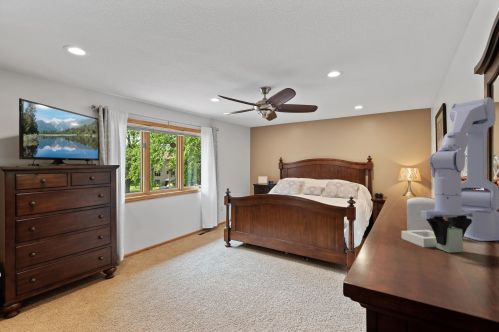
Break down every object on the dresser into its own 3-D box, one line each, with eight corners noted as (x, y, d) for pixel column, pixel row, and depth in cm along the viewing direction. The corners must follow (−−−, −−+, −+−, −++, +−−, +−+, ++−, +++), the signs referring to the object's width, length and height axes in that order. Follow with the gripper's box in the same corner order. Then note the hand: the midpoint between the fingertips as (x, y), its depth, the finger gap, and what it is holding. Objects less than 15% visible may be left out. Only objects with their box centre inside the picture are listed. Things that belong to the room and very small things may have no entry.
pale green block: (449, 247, 69) (448, 223, 69) (462, 251, 65) (462, 226, 65) (436, 247, 69) (435, 223, 69) (449, 252, 65) (448, 226, 65)
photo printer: (405, 231, 88) (404, 196, 88) (409, 229, 91) (408, 196, 91) (440, 236, 80) (439, 199, 80) (444, 234, 83) (443, 198, 83)
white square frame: (427, 237, 80) (427, 229, 80) (452, 246, 71) (452, 237, 71) (401, 238, 79) (401, 230, 79) (423, 247, 70) (423, 238, 70)
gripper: (458, 192, 72) (459, 238, 72) (412, 193, 71) (413, 240, 70) (483, 194, 65) (484, 246, 65) (432, 196, 63) (433, 248, 63)
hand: (449, 243), depth 67 cm, fingers closed on pale green block, 4 cm apart
